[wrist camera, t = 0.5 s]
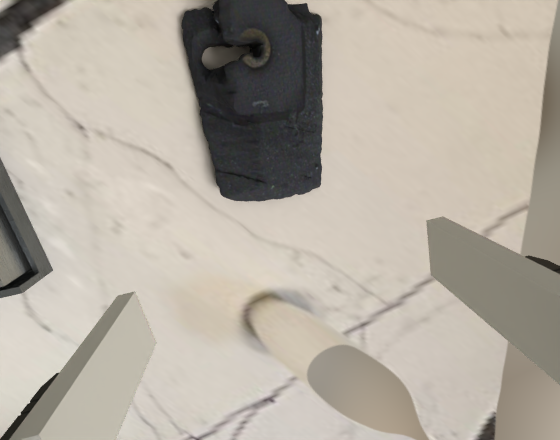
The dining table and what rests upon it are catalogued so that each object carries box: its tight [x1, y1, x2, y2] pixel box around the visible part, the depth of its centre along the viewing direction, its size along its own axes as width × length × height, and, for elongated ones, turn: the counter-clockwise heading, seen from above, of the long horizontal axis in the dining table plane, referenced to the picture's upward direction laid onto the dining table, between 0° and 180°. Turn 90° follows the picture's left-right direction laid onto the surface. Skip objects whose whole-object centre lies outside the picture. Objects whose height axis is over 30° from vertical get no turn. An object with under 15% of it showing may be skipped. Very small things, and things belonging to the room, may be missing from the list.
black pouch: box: [182, 0, 323, 201], centre depth 35 cm, size 15×22×5 cm
